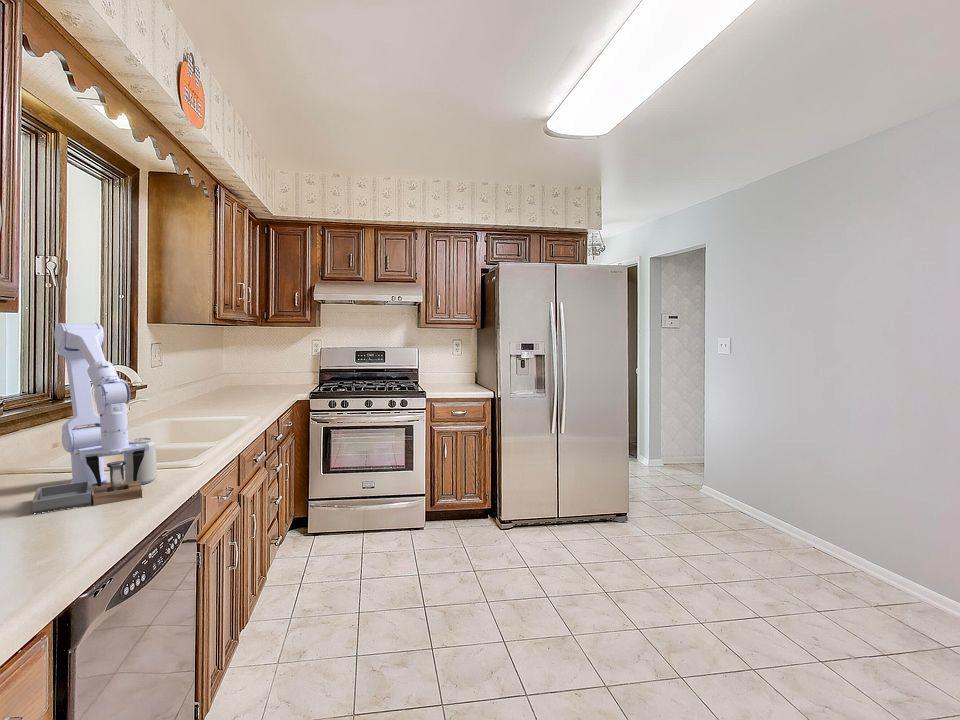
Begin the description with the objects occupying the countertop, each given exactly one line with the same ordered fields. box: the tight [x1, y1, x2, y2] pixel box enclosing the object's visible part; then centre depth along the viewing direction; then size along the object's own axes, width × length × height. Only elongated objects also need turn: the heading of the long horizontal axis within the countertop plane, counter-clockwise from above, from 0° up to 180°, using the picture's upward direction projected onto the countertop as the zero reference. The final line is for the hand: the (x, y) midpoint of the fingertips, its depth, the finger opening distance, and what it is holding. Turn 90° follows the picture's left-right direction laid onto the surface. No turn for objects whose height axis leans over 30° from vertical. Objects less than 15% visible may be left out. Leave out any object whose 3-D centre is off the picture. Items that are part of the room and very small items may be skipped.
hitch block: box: [92, 480, 143, 506], centre depth 137 cm, size 10×10×2 cm
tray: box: [31, 480, 94, 515], centre depth 132 cm, size 13×11×3 cm
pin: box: [106, 460, 126, 492], centre depth 137 cm, size 4×4×9 cm
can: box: [123, 437, 158, 485], centre depth 149 cm, size 8×8×12 cm
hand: (117, 482), depth 137 cm, fingers open, 7 cm apart
